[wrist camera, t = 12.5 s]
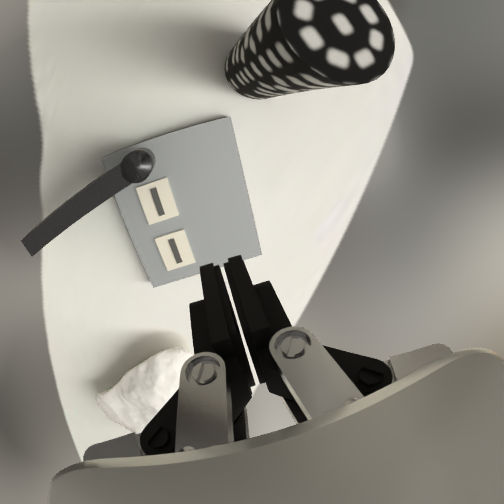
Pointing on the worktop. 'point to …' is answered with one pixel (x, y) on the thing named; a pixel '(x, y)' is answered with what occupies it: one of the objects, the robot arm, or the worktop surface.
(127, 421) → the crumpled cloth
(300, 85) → the white-spotted black cylinder
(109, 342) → the worktop surface
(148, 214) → the label panel
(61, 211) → the swing arm
